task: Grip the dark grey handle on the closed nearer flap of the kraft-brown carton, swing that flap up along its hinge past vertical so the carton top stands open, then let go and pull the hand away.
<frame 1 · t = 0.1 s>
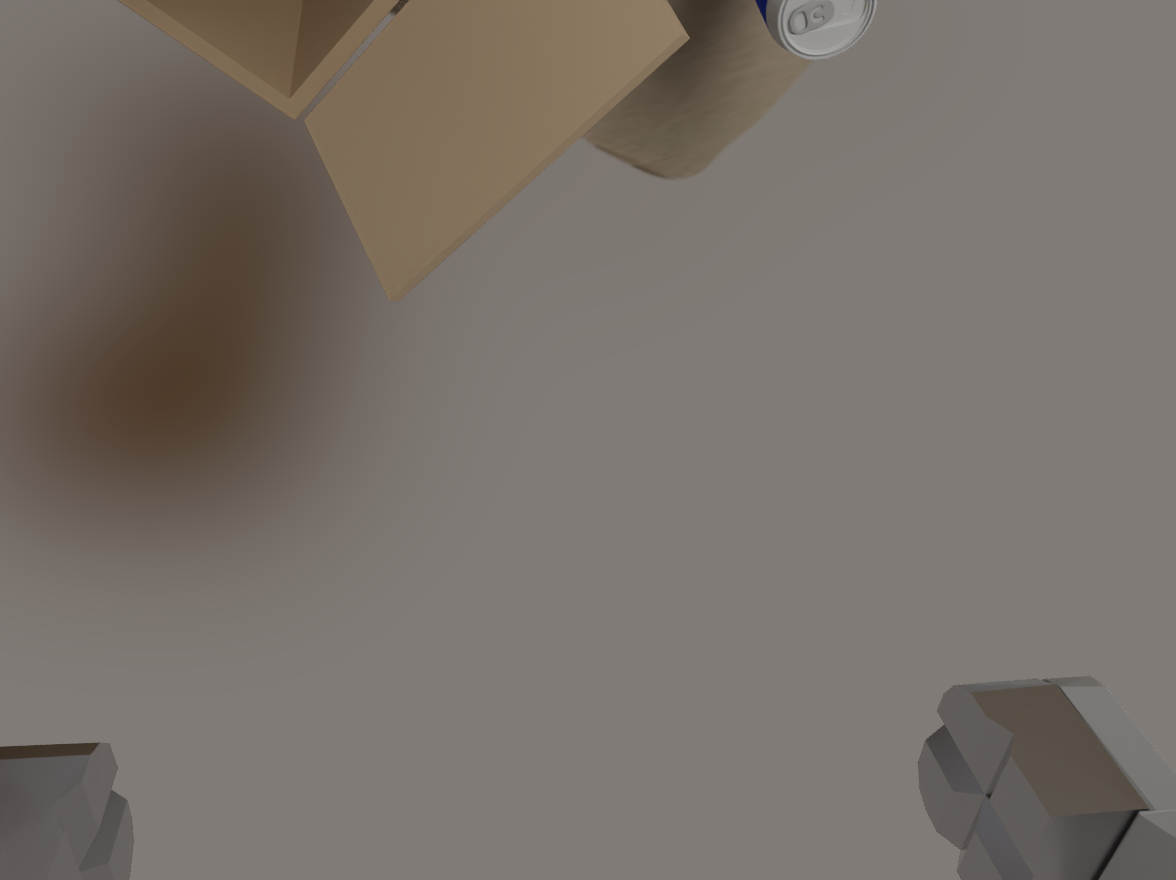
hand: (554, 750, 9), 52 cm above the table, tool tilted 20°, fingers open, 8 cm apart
flap 2: (472, 84, 40), point 18 cm above the table, hinge at 120.0°
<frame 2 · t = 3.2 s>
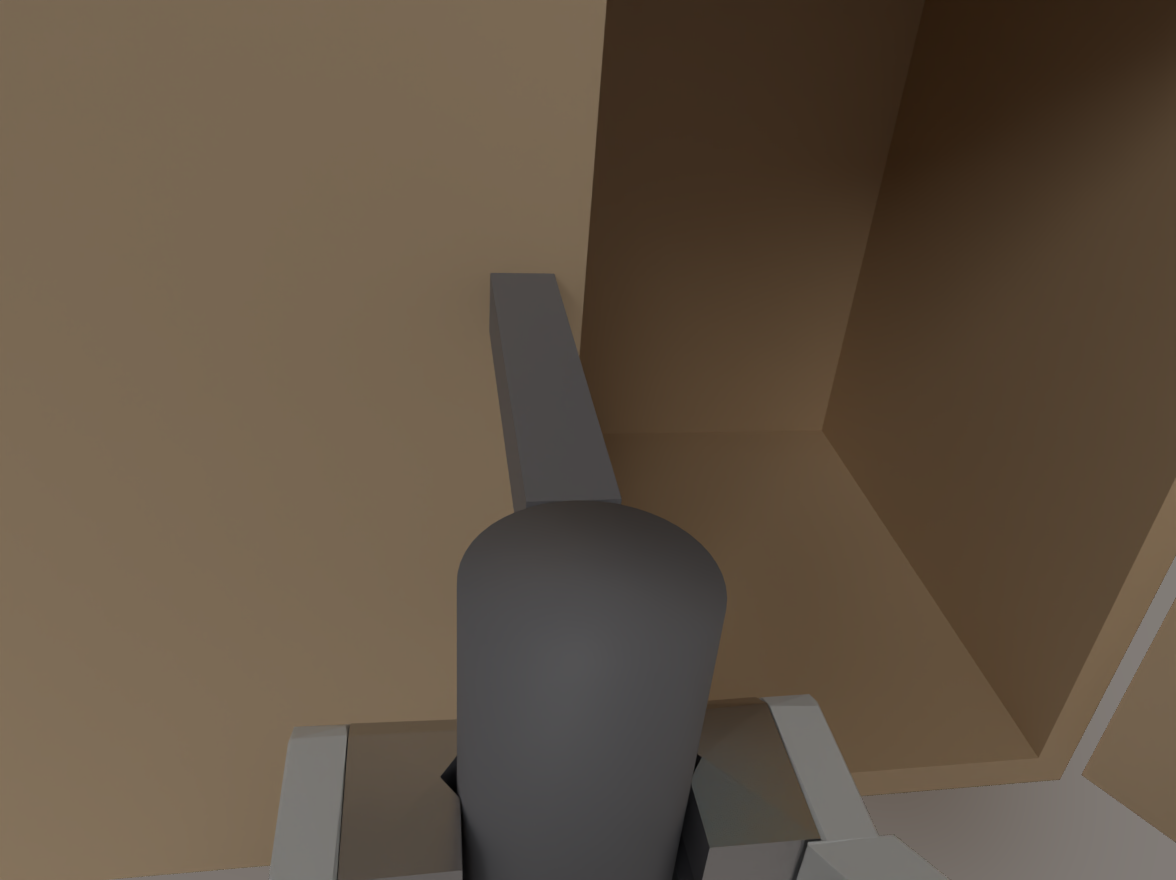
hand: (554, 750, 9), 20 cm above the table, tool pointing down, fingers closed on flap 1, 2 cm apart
flap 1: (147, 643, 10), point 18 cm above the table, hinge at 0.0°, touching gripper
carton: (517, 164, 26), on the table
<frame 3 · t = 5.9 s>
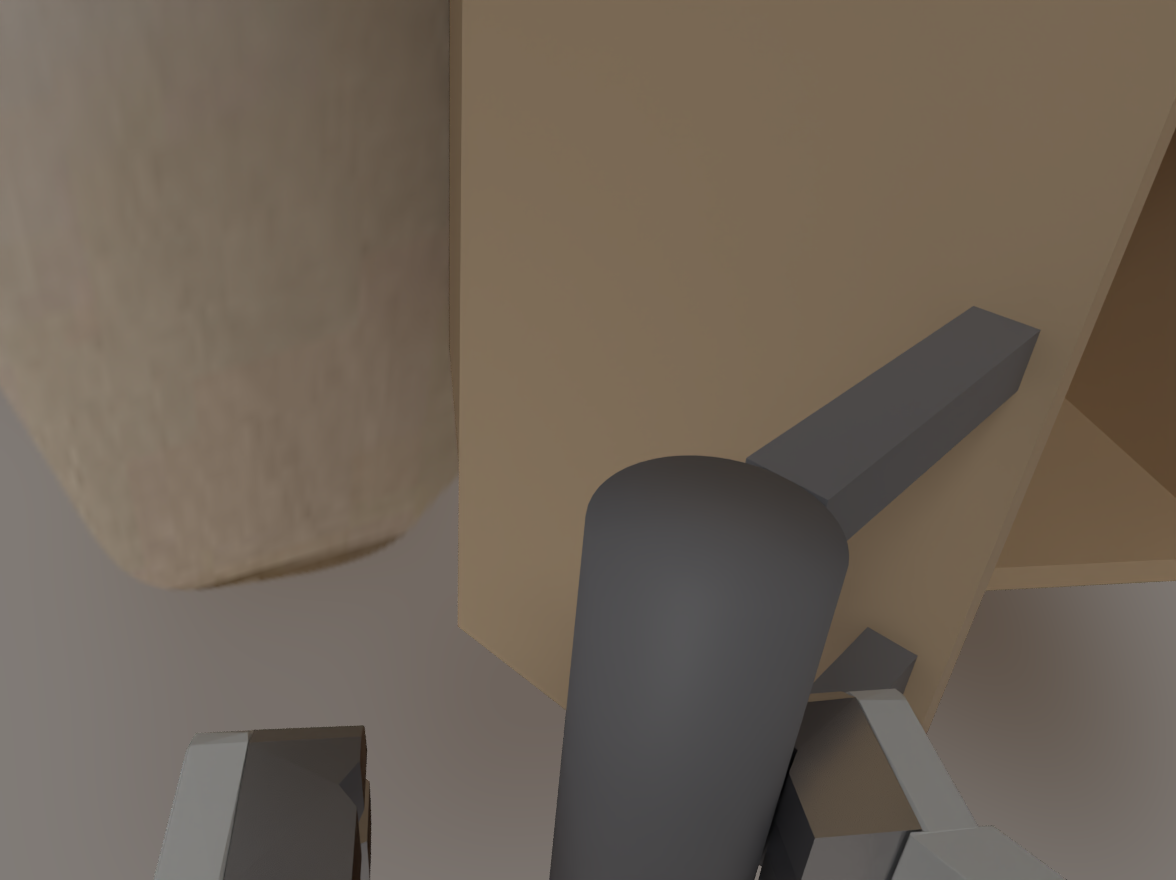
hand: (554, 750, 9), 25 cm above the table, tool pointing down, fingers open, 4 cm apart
flap 1: (545, 474, 13), point 21 cm above the table, hinge at 51.1°, touching gripper
carton: (783, 105, 32), on the table
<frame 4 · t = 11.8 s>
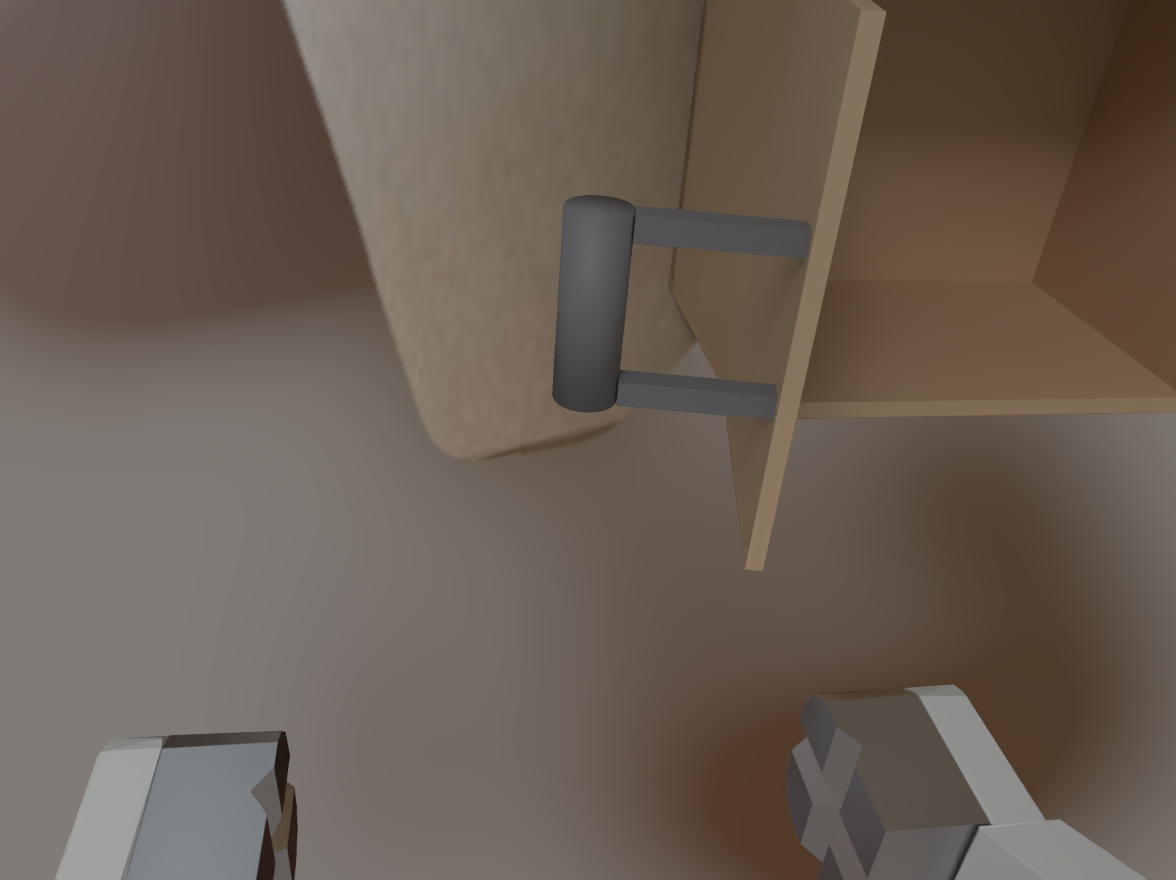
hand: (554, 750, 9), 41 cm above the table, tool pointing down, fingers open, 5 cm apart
flap 1: (680, 261, 31), point 19 cm above the table, hinge at 102.0°
carton: (895, 127, 49), on the table
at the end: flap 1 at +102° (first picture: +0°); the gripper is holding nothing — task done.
